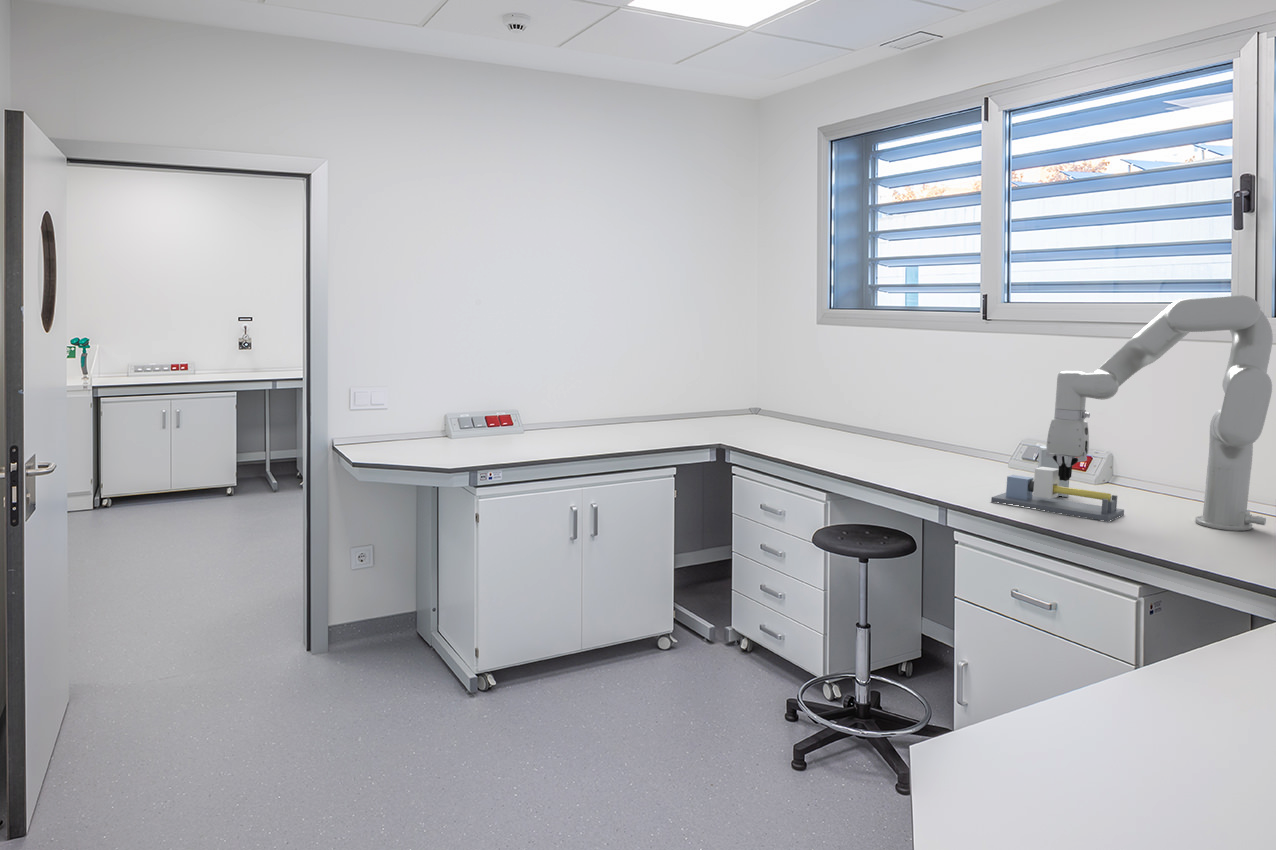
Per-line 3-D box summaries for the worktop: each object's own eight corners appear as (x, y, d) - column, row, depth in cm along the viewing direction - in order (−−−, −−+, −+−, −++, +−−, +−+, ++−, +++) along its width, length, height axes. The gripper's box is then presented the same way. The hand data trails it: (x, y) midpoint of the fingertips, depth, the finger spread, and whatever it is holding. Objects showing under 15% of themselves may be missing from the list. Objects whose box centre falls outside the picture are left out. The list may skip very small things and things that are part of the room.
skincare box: (1064, 493, 273) (1068, 446, 271) (1068, 498, 267) (1072, 449, 265) (1035, 492, 275) (1038, 444, 273) (1038, 496, 269) (1042, 447, 267)
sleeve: (1057, 496, 254) (1059, 468, 253) (1050, 499, 251) (1053, 471, 250) (1040, 493, 258) (1042, 466, 257) (1033, 496, 254) (1034, 468, 253)
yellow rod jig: (1123, 514, 245) (1126, 488, 244) (1108, 522, 237) (1110, 494, 236) (1008, 496, 268) (1010, 471, 267) (991, 502, 260) (992, 477, 259)
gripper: (1102, 416, 245) (1097, 482, 247) (1047, 411, 256) (1042, 474, 258) (1092, 419, 240) (1087, 485, 242) (1036, 413, 250) (1032, 477, 253)
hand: (1064, 479), depth 250 cm, fingers closed
